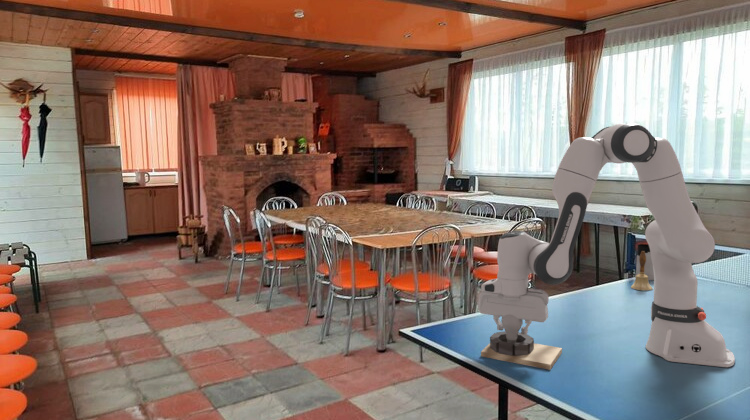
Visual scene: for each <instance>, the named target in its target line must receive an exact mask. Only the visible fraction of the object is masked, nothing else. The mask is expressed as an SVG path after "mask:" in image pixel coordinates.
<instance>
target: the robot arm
mask: <svg viewBox="0 0 750 420" xmlns="http://www.w3.org/2000/svg"><path fill="white" fill-rule="evenodd" d="M608 163H613V164H625V163H631V164H632V165H633V167H634V168H635V171H636V172H637V173H636V174H637V177H638V182H639V184H640V188H641V192H642V196H643V199H644V202H645V206H646V208H647V210H648V211H649V212H650V213H651V215H652V217H653V218H654V220H652V221H651V222H649V224H648V225H647V227H646V229H645V232H644V233H645V234H644V236H645V240H646V242H647V244H649V248H650V253H651V259H652V264H653V270H654V280H653V301H652V303H651V307H650V309H651V310H650V319H651V326H650V330H649V331H650V332H649V336H648V339H647V341H646V343H645V349H646V350H647V351H649V352H650V353H652V354H654V355H656V356H659V357H661V358H663V359H664V360H665V361H668V362H672V363H673V362H674V363H684V364H691V365H700V366H701V365H703V366H710V367H721V368H730V367H732V366H734V365H735V363H736V362H735V361H736V359H735V358H736V357H735V355H734V353H733V352H732V351H731V350H730V349H728V348H727V345H726V341H725V338H724V337H723V335H722V333H721V332H720V331H718V330H717V329H716V328H714V327H713V326H712V325H711V324H710V323H708V322H707V321H706V319H707V315H706V313H705V310H704V308H703V307H700V306H698V305H697V301H698V283H699V282H698V278H697V276H696V274H695V271H694V268H693V265H692V264H698V263H699V264H700V263H704V262H706V261H707V260H709V258H711V257H712V255H713V253H714V252H715V248H716V243H715V239H714V237H713V236H712V234H711V233H710V232H709V231H708V229H707V228H706V226H705V225H704V223H703V222H702V219H701V218H700V216H699V214H698V212H697V210H696V208H695V206H694V205H693V202H692V201H691V198H690V195H689V193H688V189H687V185H686V182H685V178H684V175H683V171H682V168H681V164H680V161H679V158H678V156H677V154H676V152H675V150H674V148H673V145H672V144H671V143H670V141H669V140H668V139H666V138H663V137H655V136H653V135H652V133H651V132H650V131H649V130H648V129H647V128H646V127H645V126H643V125H641V124H638V123H634V122H633V123H617V124H614V125H611V126H606V127H604V128H601V129H600V130H599V131H597V132H596V133H595V134H594V135H593V136H592V137H587V136H583V137H577V138H575V139H574V140H573V141H572V142H571V143H570V145H569V146H568V148H567V149H566V152H565V153H564V155H563V157H562V159H561V161H560V163H559V165H558V167H557V170H556V171H555V176H554V178H553V183H552V188H551V192H552V195H553V197H554V198H555V200H556V203H557V205H558V206H557V207H558V218H557V221H556V224H555V226H554V230H553V232H552V236H551V239H550V242H548V241H543V240H540V239H537V238H535V237H533V236H531V235H529V234H528V233H527V232H526V231H523V230H513V231H507V232H506V233H503V234H502V235H501V236H500V237H499V240H498V245H497V257H496V258H497V259H496V260H497V266H498V270H497V275H496V277H497V278H493V279H489V280H487V281H485V282H484V283H482V284H481V285H480V288H481V292H480V293H479V296H478V305H477V309H478V311H479V313H480V314H482V315H488V316H492V317H493V320H494V322H495V325H496V329H497V331H500V332H503V330H505V329H504V327H503V325H502V322H501V320H500V318H502V317H503V316H505V315H508V314H510V315H513V316H515V317H516V318H517V319H522V320H523V321H524V323H525V324H526V325H525V326H521V328H520V331H521V332H520V333H521V334H527V335H528V332H529V327H530V326H531V324H532V322H537V323H544V322H546V320H548V318H549V308H548V304H549V294H548V293H547V292H546V291H545V290H543V289H537V288H533V287H532V288H531V287H529V275H531V274H535V275H536V276H537V277H538V278H539V280H540V281H542V282H543V283H544V284H546V285H554V286H556V285H559V284H562V283H564V282H565V281H567V280H568V279H569V278H570V277H571V275H572V272H573V268H574V250H575V247H576V244H577V240H578V237H579V234H580V231H581V229H582V224H583V221H584V219H585V215H586V211H587V208H588V203H589V201H590V198H591V195H592V192H593V190H594V188H595V185H596V182H597V181H598V178H599V175H600V172H601V170H602V169H603V167H604V166H605V165H606V164H608Z"/></svg>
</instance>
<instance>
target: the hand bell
mask: <svg viewBox="0 0 750 420" xmlns="http://www.w3.org/2000/svg"><path fill="white" fill-rule="evenodd" d="M639 262H640V274H638V275H636V274H635V276H636V278H635V281H634V282H633V284H632V285H631V286H630V288H631V289H633V290H637V291H646V292H647V291H652V290H654V287H652V286H651V284H650V282H649V280H648V276H646V275H645V274H644V266H645V263H646V255H645V251H641V254H640V257H639Z"/></svg>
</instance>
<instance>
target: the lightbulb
mask: <svg viewBox="0 0 750 420" xmlns="http://www.w3.org/2000/svg"><path fill="white" fill-rule="evenodd" d="M500 322H501V323H502V325H503V327H504V329H503V330H504V331H505V332H506V338H507V342H509V343H516V339H517V335H518V332H520V331H521V328H522V327H523V322H524V320H522V319H517V318H516V317H515V316H513V315H510V314H508V315H505V316H503V317H502V316H501V320H500Z"/></svg>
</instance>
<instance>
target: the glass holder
mask: <svg viewBox="0 0 750 420" xmlns="http://www.w3.org/2000/svg"><path fill="white" fill-rule="evenodd" d="M636 250H637V253H636V254H637V255H636V263H635V264H636V266H635V267H636V268H635V275H634V278H635V279H636V275H638V274H640V262H639V257H640V254H641V251H645V255H646V263H645V266H644V274H645V275H646V276H648V281H654V270H653V264H652V259H651V253H650V248H649V244H648V243H639V244H637V249H636Z"/></svg>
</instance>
